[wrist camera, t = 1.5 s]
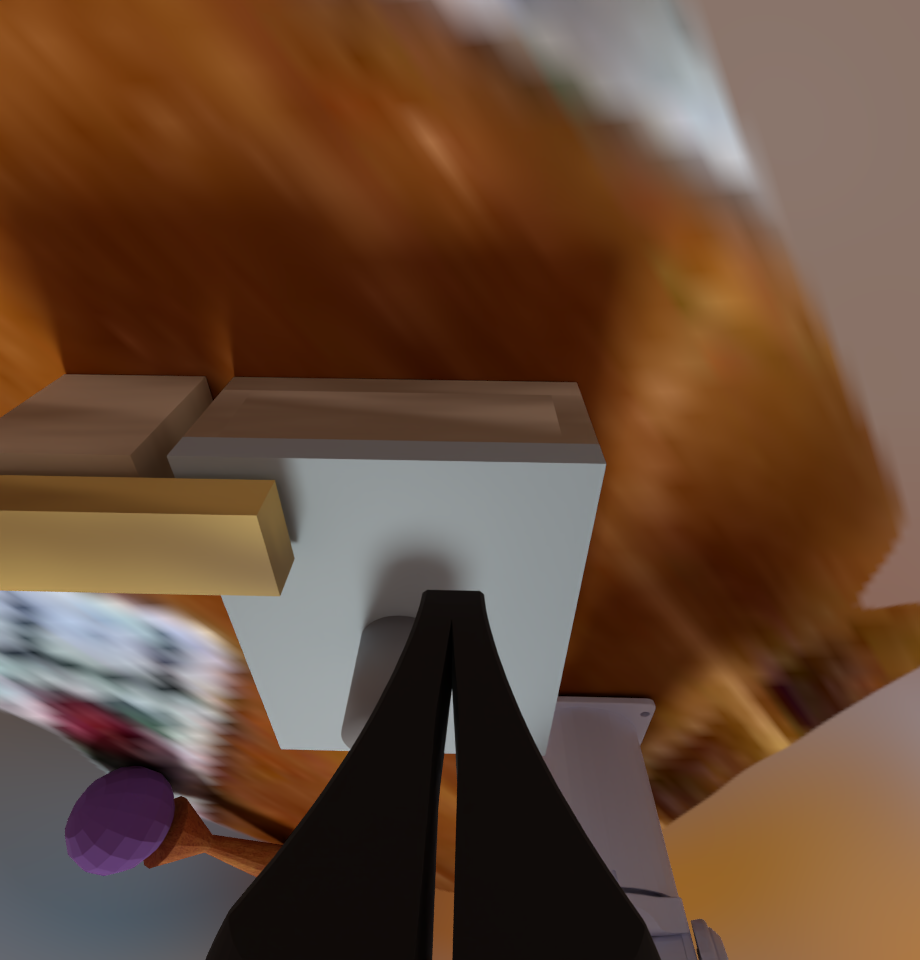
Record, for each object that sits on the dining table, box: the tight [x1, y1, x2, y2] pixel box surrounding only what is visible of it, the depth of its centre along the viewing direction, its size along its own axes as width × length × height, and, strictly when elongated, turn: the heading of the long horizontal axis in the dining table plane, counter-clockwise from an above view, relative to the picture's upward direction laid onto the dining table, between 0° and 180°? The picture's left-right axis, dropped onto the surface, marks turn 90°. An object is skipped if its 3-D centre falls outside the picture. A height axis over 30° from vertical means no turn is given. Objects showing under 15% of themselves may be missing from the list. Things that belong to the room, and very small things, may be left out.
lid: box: [167, 437, 606, 756], centre depth 18 cm, size 16×12×6 cm
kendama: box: [65, 766, 283, 877], centre depth 38 cm, size 6×6×20 cm
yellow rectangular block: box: [0, 475, 295, 596], centre depth 15 cm, size 3×10×2 cm, turn 90°
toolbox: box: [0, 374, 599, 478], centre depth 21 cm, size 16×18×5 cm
